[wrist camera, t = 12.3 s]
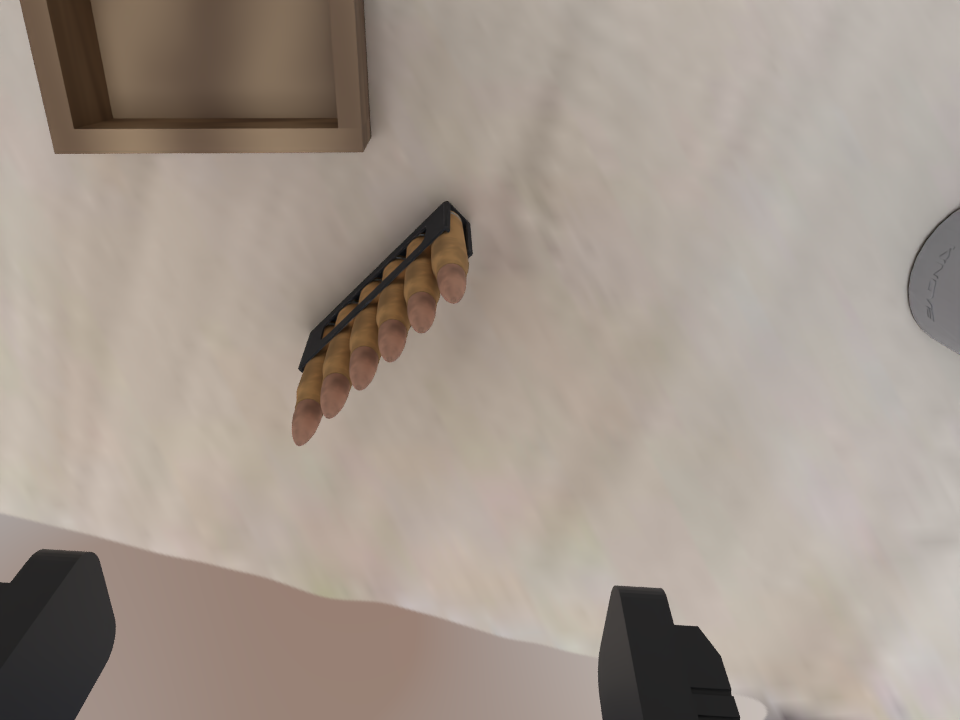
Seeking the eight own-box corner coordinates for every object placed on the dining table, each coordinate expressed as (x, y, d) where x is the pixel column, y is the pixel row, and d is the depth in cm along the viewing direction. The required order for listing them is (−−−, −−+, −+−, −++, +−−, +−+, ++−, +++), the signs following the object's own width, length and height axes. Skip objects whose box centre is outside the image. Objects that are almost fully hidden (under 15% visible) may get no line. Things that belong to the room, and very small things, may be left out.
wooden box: (359, -72, 32) (348, -88, 28) (371, 137, 36) (363, 152, 32) (59, -76, 32) (-2, -94, 27) (102, 138, 35) (54, 153, 31)
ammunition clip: (446, 199, 38) (454, 266, 27) (471, 224, 38) (488, 300, 27) (309, 333, 40) (265, 444, 29) (334, 355, 41) (300, 472, 30)
